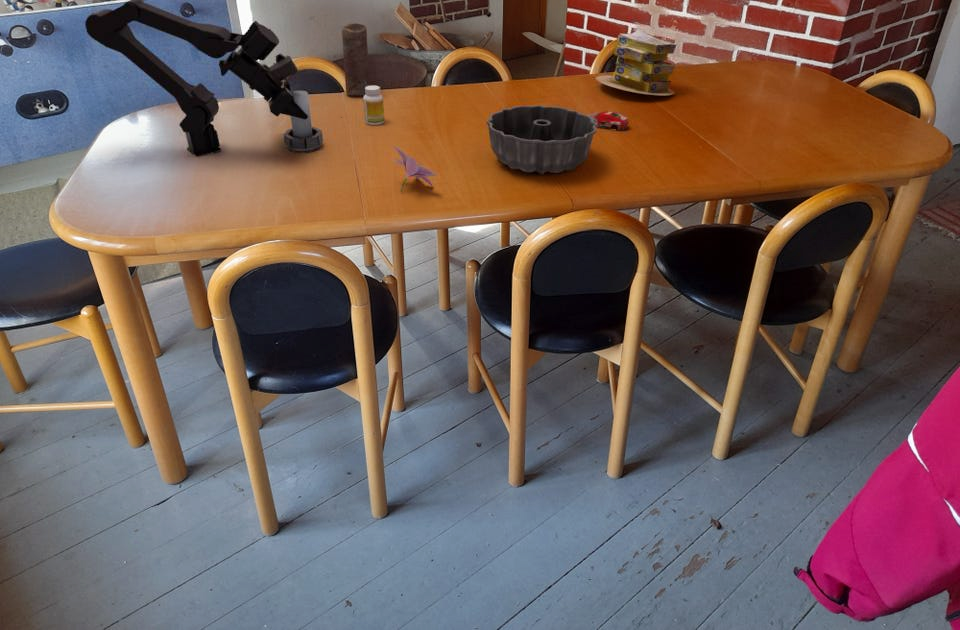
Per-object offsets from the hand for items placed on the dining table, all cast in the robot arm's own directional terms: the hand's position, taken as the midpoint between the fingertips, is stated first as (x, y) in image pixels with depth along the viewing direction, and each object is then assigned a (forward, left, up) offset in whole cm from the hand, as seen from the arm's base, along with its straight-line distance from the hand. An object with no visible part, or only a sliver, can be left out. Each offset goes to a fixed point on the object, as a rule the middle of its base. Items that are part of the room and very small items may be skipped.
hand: (305, 114), depth 174 cm
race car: (+71, -37, -9) cm, 80 cm away
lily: (+5, -38, -8) cm, 39 cm away
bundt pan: (+39, -44, -8) cm, 60 cm away
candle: (+33, +29, -8) cm, 44 cm away
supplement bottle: (+23, +5, -8) cm, 25 cm away
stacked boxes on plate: (+103, -22, -8) cm, 106 cm away
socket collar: (-1, +1, -8) cm, 8 cm away
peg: (-1, +1, -7) cm, 7 cm away
